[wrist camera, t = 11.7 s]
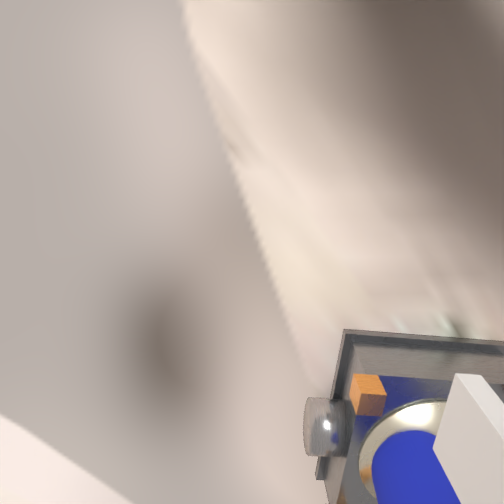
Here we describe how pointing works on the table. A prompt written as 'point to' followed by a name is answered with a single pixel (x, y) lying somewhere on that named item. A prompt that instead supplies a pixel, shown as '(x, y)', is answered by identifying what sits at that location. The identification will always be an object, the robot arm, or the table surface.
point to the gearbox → (387, 400)
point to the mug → (410, 471)
